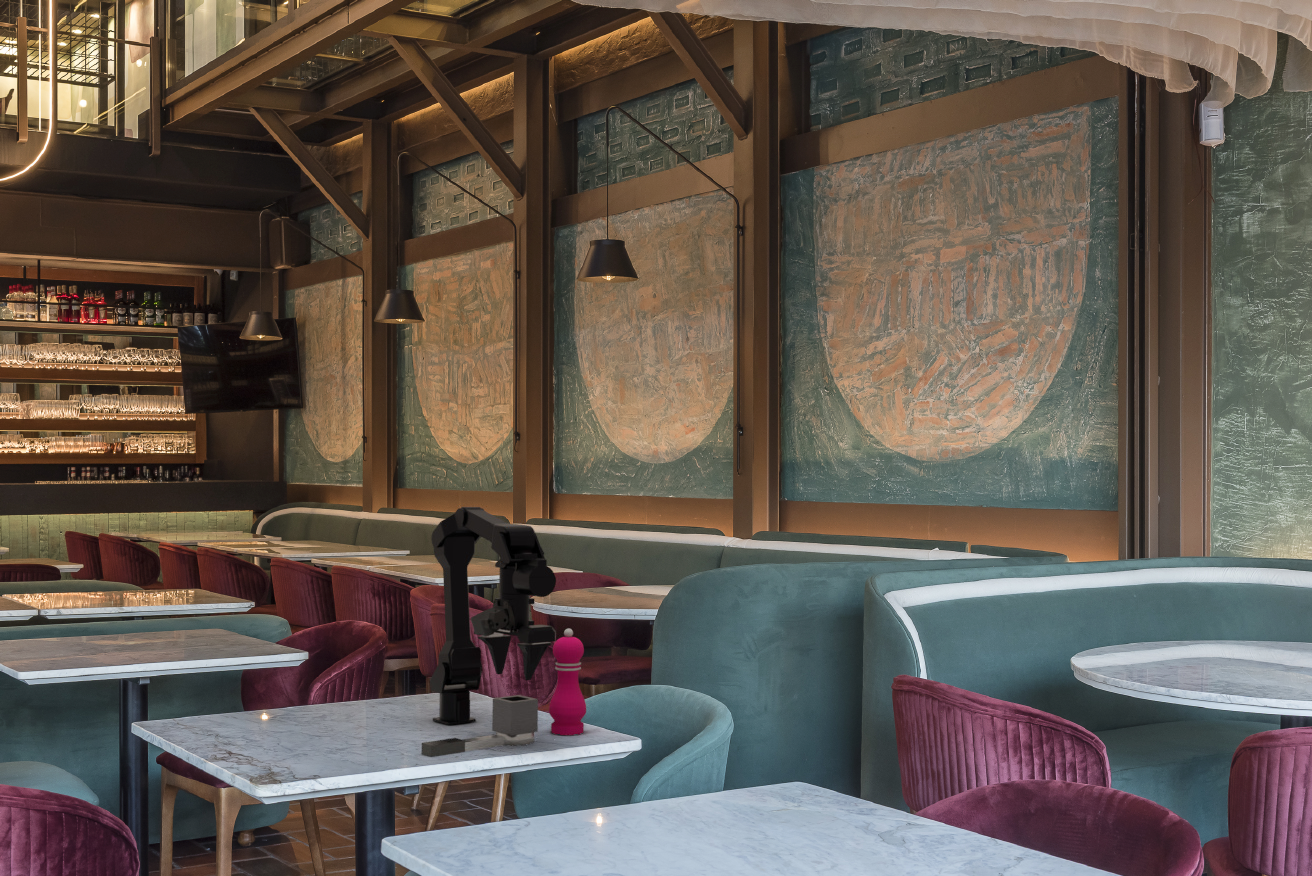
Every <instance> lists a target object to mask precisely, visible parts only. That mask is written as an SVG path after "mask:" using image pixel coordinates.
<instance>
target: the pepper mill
mask: <svg viewBox="0 0 1312 876" xmlns="http://www.w3.org/2000/svg"><path fill="white" fill-rule="evenodd" d="M563 635H564V636H562V637H560V638H558V639H556V641H554V642H553V646H552V654H553V656H554V658H555V659H556V661H555V667H554V669H555V670H556V671H557V672H556V673H557V683H556V687H555V689H554V693H553V695H552V697H551V699H550V703H549V705H548V706H549V707H548V713H549V716H550V717H551V718H552V719H553V722H552V723H551V726H550V727H551V729H550V730H551V734H553V733H554V734H553V735H556V734H560V735H559V736H575V735H574V734H578V735H582V734H583V733H584V725H585V724H584V722H583V721H582V719H583V718H584V717H585V715H586V713H587V704H586V700H585V698H584V695H583V693H582V690H581V688H580V683H579V673H580V670H581V669H582V667H581V665H582V662H581V661H580V660H581V659H582V658H583V656H584V653H585V649H584V644H583V642H582V641H581V640H580V639H579V638H577V637H575V636H573V635H574V631H573V630H572V628H566V629H565V630H564V632H563ZM581 733H582V734H581Z"/></svg>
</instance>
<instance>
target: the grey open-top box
mask: <svg viewBox="0 0 1312 876" xmlns="http://www.w3.org/2000/svg"><path fill="white" fill-rule="evenodd" d="M538 711H539V700H538V699H537V698H534V697H530V696H525V695H521V694H517V695H515V694H514V695H509V696H501V697H492V714H491V717H492V719H491V720H492V723H491V724H492V725H491V728H492V729H491V730H492V732H495V733H496V732H499V733H502V734H506V735H510V736H513V735H519V734H526V733H533V732H534V733H538V729H539V728H538V725H539V723H538V722H539V720H538V719H539V717H538V716H539V712H538Z"/></svg>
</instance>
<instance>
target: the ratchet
mask: <svg viewBox="0 0 1312 876" xmlns="http://www.w3.org/2000/svg"><path fill="white" fill-rule="evenodd" d="M533 742H534V743H535V732H533V733H526V734H519V735H513V736H510V735H506V734H502V733H499V732H495V734H489V735H484V736H476V737H470V738H464V739H463V738H456V737H453V738H446V739H445V738H444V739H439V740H433V741H432V740H431V741H425V742H421V753H420V754H421V755H423V756H427V757H429V758H433V757H439V756H441V757H442V756H446V755H454V754H460V753H461V754H462V753H465V752H471V751H476V750H483V748H484V749H489V747H490V748H495V746H497V747H502V745H503V746H507V745H510V746H511V747H517V745H521V746H527V745H526V744H528V745H531V744H530V743H532V744H534V743H533ZM512 745H513V746H512ZM510 746H509V747H510Z"/></svg>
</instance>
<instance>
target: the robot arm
mask: <svg viewBox="0 0 1312 876" xmlns="http://www.w3.org/2000/svg"><path fill="white" fill-rule="evenodd" d="M481 538H483V539H485V540H487V541H489V542H490V543H491V546H490V547H491V549H492V550H493V551H494V553H496V554H497V556H499V558H500V559H498V560H497V561H496V562H495V564H494V567H495V568H497V569H499V576H498V577H499V578H498V579H499V582H498V583H499V589H498V590H499V591H498V592H499V593H498V597H497V598H496V597H495V598H494V600H493V601H492V607H490V608H488V609H484V610H483V611H481V612H479V613H477V614H475V615H473V616H471V617H470V600H469V599H470V598H469V597H470V596H469V595H470V594H469V578H468V567H469V565H470V563H471V561H472V559H473V558H474V555H475V551H476V544H477V542H478V541H479V540H480V539H481ZM431 544H432V546H433V555H434V557H435V559H436V561H437V562H438V563H439V565H440V566H441V569H442V572H443V573H442V574H443V576H442V577H443V597H444V601H443V602H444V620H445V621H444V622H445V642H444V644H443V646H442V647H441V650H440V651H439V653H438V658H437V660H438V661H437V662H438V663H437V665H436V668H435V670H434V672H433V673H432V676H431V678H430V679H429V686H430V691H432V692H434V693H437V694H439V715H438V716H437V717H432V721H433V722H434V721H435V722H436V723H437V722H438V723H440V724H444V725H445V724H446V725H448V726H449V725H450V726H451V725H458V724H465V723H473V722H476V721H477V718H475V717H471V698H470V697H471V691H479V689H480V684H481V679H482V675H483V665H482V664H483V663H482V651H481V648H480V647H479V646H476V645H475V643H474V642H473V640H472V639H471V624H472V629H473V635H477V638H478V640H480V641H482V642H483V643H484V644H485V645H486V646H487V648H488V651H489V654H490V657H491V661H492V663H493V664H492V665H493V668H494V671H495V674H497V675H502V674H503V673H504V669H505V665H506V662H507V657H508V652H509V648H510V644H511V638H512V636H515V637H517V639H518V642H519V643H516V645H517V647H518V648H519V649H520V650H521V652H522V660H523V661H522V662H523V675H524V680H525V681H531V680H532V678H533V676H534V674H535V673H536V670H537V668H538V665H539V663H540V662H541V659H542V658H543V656H544V654H545V653H546V651H547V650H548V647H551V645H552V642H553V643H555V642H556V641H557V639H556V637H557V631H556V630H555V628H554V627H553V626H552V625H548V624H547V625H546V624H535V620H532V619H530V617H531V615H530V614H531V612H530V610H531V609H530V608H531V607H530V606H531V605H535V598H532V597H537V598H544V597H548V596H549V595H551V594H552V592H553V591H554V590H555V588H556V583H557V578H556V575H555V573H554V571H553V569H551V567H549V566H548V565H547V564H548V563H547V559H546V558H545V551H544V549H543V548H542V546H541V543H540V542H539V538H538V536H537V534H536V532H535V529H534V528H533V527H532V526H531V525H526V524H519V523H518V524H517V523H508V522H506V521H504V520H503V519H500V518H499V517H497V516H496V515H493V514H491V513H489V512H487V511H486V510H484V508H483V507H480V506H461V507H459V508H457V510H455V512H454V513H453V514H452V515H450V516H448V517H446V518H444V519H443V520H441V521H439V522H438V524H437V525H436V527H435V528H434V530H433V531H432V533H431ZM531 596H532V597H531Z"/></svg>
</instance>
